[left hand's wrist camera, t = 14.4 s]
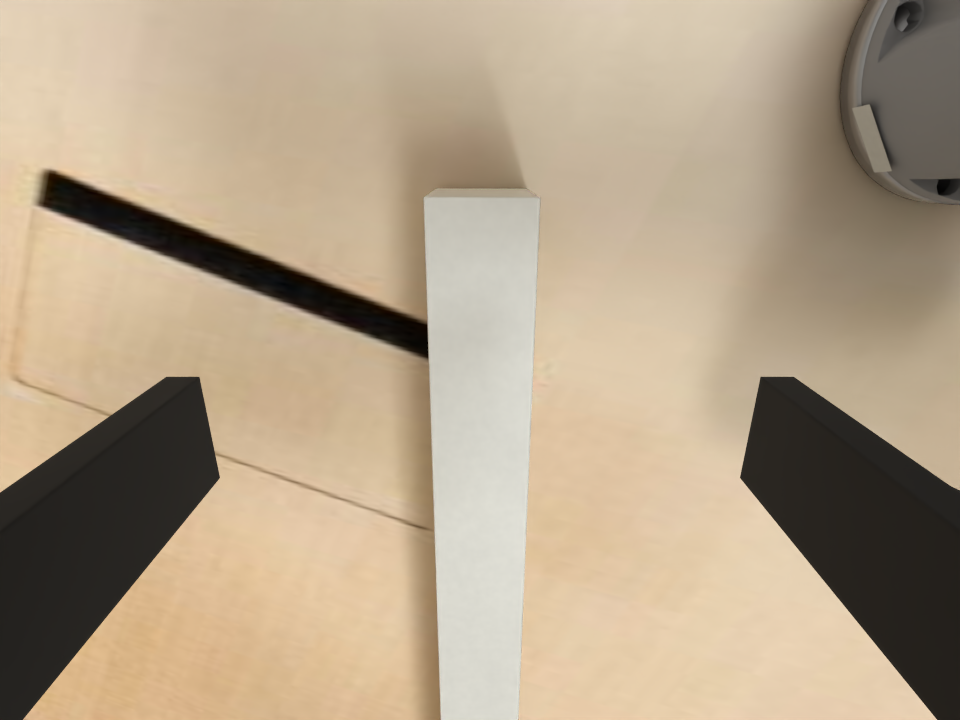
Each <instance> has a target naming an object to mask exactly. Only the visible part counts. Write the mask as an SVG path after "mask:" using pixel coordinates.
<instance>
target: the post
mask: <svg viewBox="0 0 960 720" xmlns="http://www.w3.org/2000/svg"><path fill="white" fill-rule="evenodd" d="M423 199H424V230H425V260H426V290H427V320H428V351H429V381H430V411H431V442H432V472H433V502H434V533H435V563H436V593H437V624H438V654H439V684H440V715H441V720H518V716H519V693H520V669H521V646H522V622H523V599H524V575H525V552H526V529H527V505H528V482H529V458H530V435H531V411H532V388H533V364H534V341H535V317H536V294H537V270H538V247H539V223H540V200H541V199H540V197H539V196H537V195H536V194H534V193H533V192H531V191H530V190H528V189H526V188H436V189H435V190H433V191H432V192H430V193H429V194H427V195H426V196H425V197H424V198H423Z"/></svg>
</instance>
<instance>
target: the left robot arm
mask: <svg viewBox="0 0 960 720" xmlns="http://www.w3.org/2000/svg"><path fill="white" fill-rule="evenodd" d="M840 102H841V115H842V122H843V127H844V131H845V135H846V138H847V141H848V143H849V146H850V148H851V150H852V152H853V154H854V156H855V158H856V160H857V161H858V163H859V164H860V166H861V167H862V168H863V169H864V171H865V172H866V173H867V174H868V175H869V176H870V177H871V178H872V179H873V180H874V181H875V182H877V183H878V184H879V185H881V186H882V187H884V188H885V189H887V190H889V191H891V192H892V193H894V194H896V195H899V196H902V197H905V198H907V199H912V200H916V201H922V202H930V203H940V204H951V205H960V0H869V1H868V3H867V5H866V6H865V8H864V10H863V12H862V14H861V16H860V18H859V20H858V22H857V25H856V27H855V30H854V32H853V35H852V37H851V40H850V43H849V47H848V50H847V53H846V57H845V62H844V66H843V72H842V79H841V93H840ZM219 478H220V476H219V471H218V466H217V461H216V457H215V452H214V447H213V442H212V437H211V432H210V427H209V422H208V417H207V412H206V408H205V403H204V398H203V393H202V388H201V383H200V378H199V377H166V378H164V379H163V380H161V381H160V382H159V383H157V384H156V385H154V386H153V387H151V388H150V389H148V390H147V391H146V392H144V393H143V394H141V395H140V396H138V397H137V398H136V399H134V400H133V401H131V402H130V403H128V404H127V405H125V406H124V407H123V408H121V409H120V410H118V411H117V412H115V413H114V414H113V415H111V416H110V417H108V418H107V419H105V420H104V421H102V422H101V423H100V424H98V425H97V426H95V427H94V428H92V429H91V430H90V431H88V432H87V433H85V434H84V435H82V436H81V437H80V438H78V439H77V440H75V441H74V442H72V443H71V444H69V445H68V446H67V447H65V448H64V449H62V450H61V451H59V452H58V453H57V454H55V455H54V456H52V457H51V458H49V459H48V460H46V461H45V462H44V463H42V464H41V465H39V466H38V467H36V468H35V469H34V470H32V471H31V472H29V473H28V474H26V475H25V476H23V477H22V478H21V479H19V480H18V481H16V482H15V483H13V484H12V485H11V486H9V487H8V488H6V489H5V490H3V491H2V492H0V720H23V719H24V718H25V716H26V715H27V714H28V713H29V711H30V710H31V709H32V708H33V706H34V705H35V704H36V703H37V702H38V700H39V699H40V698H41V697H42V695H43V694H44V693H45V692H46V691H47V689H48V688H49V687H50V686H51V684H52V683H53V682H54V681H55V679H56V678H57V677H58V676H59V675H60V673H61V672H62V671H63V670H64V668H65V667H66V666H67V665H68V664H69V662H70V661H71V660H72V659H73V657H74V656H75V655H76V654H77V652H78V651H79V650H80V649H81V648H82V646H83V645H84V644H85V643H86V641H87V640H88V639H89V638H90V637H91V635H92V634H93V633H94V632H95V630H96V629H97V628H98V627H99V626H100V624H101V623H102V622H103V621H104V619H105V618H106V617H107V616H108V614H109V613H110V612H111V611H112V610H113V608H114V607H115V606H116V605H117V603H118V602H119V601H120V600H121V599H122V597H123V596H124V595H125V594H126V592H127V591H128V590H129V589H130V587H131V586H132V585H133V584H134V583H135V581H136V580H137V579H138V578H139V576H140V575H141V574H142V573H143V572H144V570H145V569H146V568H147V567H148V565H149V564H150V563H151V562H152V560H153V559H154V558H155V557H156V556H157V554H158V553H159V552H160V551H161V549H162V548H163V547H164V546H165V545H166V543H167V542H168V541H169V540H170V538H171V537H172V536H173V535H174V533H175V532H176V531H177V530H178V529H179V527H180V526H181V525H182V524H183V522H184V521H185V520H186V519H187V518H188V516H189V515H190V514H191V513H192V511H193V510H194V509H195V508H196V507H197V505H198V504H199V503H200V502H201V500H202V499H203V498H204V497H205V495H206V494H207V493H208V492H209V491H210V489H211V488H212V487H213V486H214V484H215V483H216V482H217V481H218V480H219ZM740 478H741V480H742V481H743V482H744V483H745V484H746V486H747V487H748V488H749V489H750V491H751V492H752V493H753V494H754V495H755V497H756V498H757V499H758V500H759V502H760V503H761V504H762V505H763V507H764V508H765V509H766V510H767V511H768V513H769V514H770V515H771V516H772V518H773V519H774V520H775V521H776V522H777V524H778V525H779V526H780V527H781V529H782V530H783V531H784V532H785V533H786V535H787V536H788V537H789V538H790V540H791V541H792V542H793V543H794V545H795V546H796V547H797V548H798V549H799V551H800V552H801V553H802V554H803V556H804V557H805V558H806V559H807V560H808V562H809V563H810V564H811V565H812V567H813V568H814V569H815V570H816V572H817V573H818V574H819V575H820V576H821V578H822V579H823V580H824V581H825V583H826V584H827V585H828V586H829V587H830V589H831V590H832V591H833V592H834V594H835V595H836V596H837V597H838V599H839V600H840V601H841V602H842V603H843V605H844V606H845V607H846V608H847V610H848V611H849V612H850V613H851V614H852V616H853V617H854V618H855V619H856V621H857V622H858V623H859V624H860V626H861V627H862V628H863V629H864V630H865V632H866V633H867V634H868V635H869V637H870V638H871V639H872V640H873V641H874V643H875V644H876V645H877V646H878V648H879V649H880V650H881V651H882V652H883V654H884V655H885V656H886V657H887V659H888V660H889V661H890V662H891V664H892V665H893V666H894V667H895V668H896V670H897V671H898V672H899V673H900V675H901V676H902V677H903V678H904V679H905V681H906V682H907V683H908V684H909V686H910V687H911V688H912V689H913V691H914V692H915V693H916V694H917V695H918V697H919V698H920V699H921V700H922V702H923V703H924V704H925V705H926V706H927V708H928V709H929V710H930V711H931V713H932V714H933V715H934V716H935V718H936V719H937V720H960V490H957V489H955V488H953V487H951V486H949V485H948V484H947V483H945V482H944V481H942V480H941V479H939V478H938V477H937V476H935V475H934V474H932V473H931V472H929V471H928V470H926V469H925V468H924V467H922V466H921V465H919V464H918V463H916V462H915V461H914V460H912V459H911V458H909V457H908V456H906V455H905V454H903V453H902V452H901V451H899V450H898V449H896V448H895V447H893V446H892V445H891V444H889V443H888V442H886V441H885V440H883V439H882V438H880V437H879V436H878V435H876V434H875V433H873V432H872V431H870V430H869V429H868V428H866V427H865V426H863V425H862V424H860V423H859V422H858V421H856V420H855V419H853V418H852V417H850V416H849V415H847V414H846V413H845V412H843V411H842V410H840V409H839V408H837V407H836V406H835V405H833V404H832V403H830V402H829V401H827V400H826V399H824V398H823V397H822V396H820V395H819V394H817V393H816V392H814V391H813V390H812V389H810V388H809V387H807V386H806V385H804V384H803V383H801V382H800V381H799V380H797V379H796V378H794V377H761V378H760V383H759V388H758V393H757V398H756V403H755V408H754V412H753V417H752V422H751V427H750V432H749V437H748V442H747V447H746V452H745V457H744V461H743V466H742V471H741V476H740Z"/></svg>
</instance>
